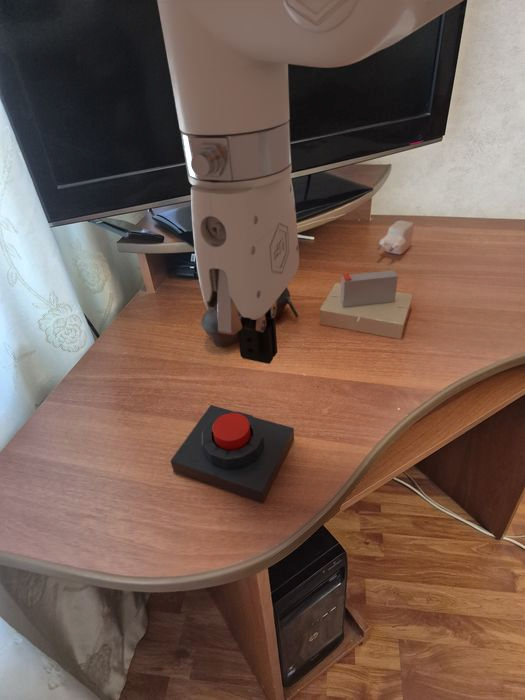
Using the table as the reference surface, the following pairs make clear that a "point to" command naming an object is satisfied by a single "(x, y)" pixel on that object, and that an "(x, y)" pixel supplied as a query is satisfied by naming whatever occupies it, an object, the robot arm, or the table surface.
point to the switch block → (235, 456)
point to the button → (231, 431)
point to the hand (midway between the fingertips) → (259, 355)
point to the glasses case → (224, 340)
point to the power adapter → (398, 237)
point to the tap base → (367, 315)
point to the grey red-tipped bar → (368, 288)
